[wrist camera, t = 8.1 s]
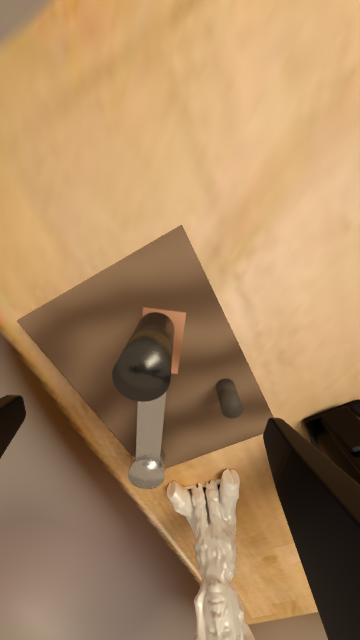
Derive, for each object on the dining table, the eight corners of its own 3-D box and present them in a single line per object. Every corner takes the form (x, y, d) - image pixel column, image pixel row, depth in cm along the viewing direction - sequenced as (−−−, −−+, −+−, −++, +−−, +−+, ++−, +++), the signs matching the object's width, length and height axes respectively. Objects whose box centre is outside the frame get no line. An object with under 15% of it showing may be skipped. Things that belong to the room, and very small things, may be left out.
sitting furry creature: (235, 464, 26) (278, 637, 14) (250, 504, 28) (296, 676, 17) (165, 480, 27) (153, 652, 15) (186, 517, 29) (189, 686, 18)
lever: (164, 470, 23) (156, 569, 16) (132, 467, 23) (110, 566, 16) (181, 308, 16) (181, 356, 9) (137, 304, 16) (102, 349, 9)
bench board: (272, 416, 23) (293, 455, 18) (150, 462, 25) (143, 505, 21) (181, 226, 16) (181, 219, 12) (28, 315, 19) (-16, 335, 14)
